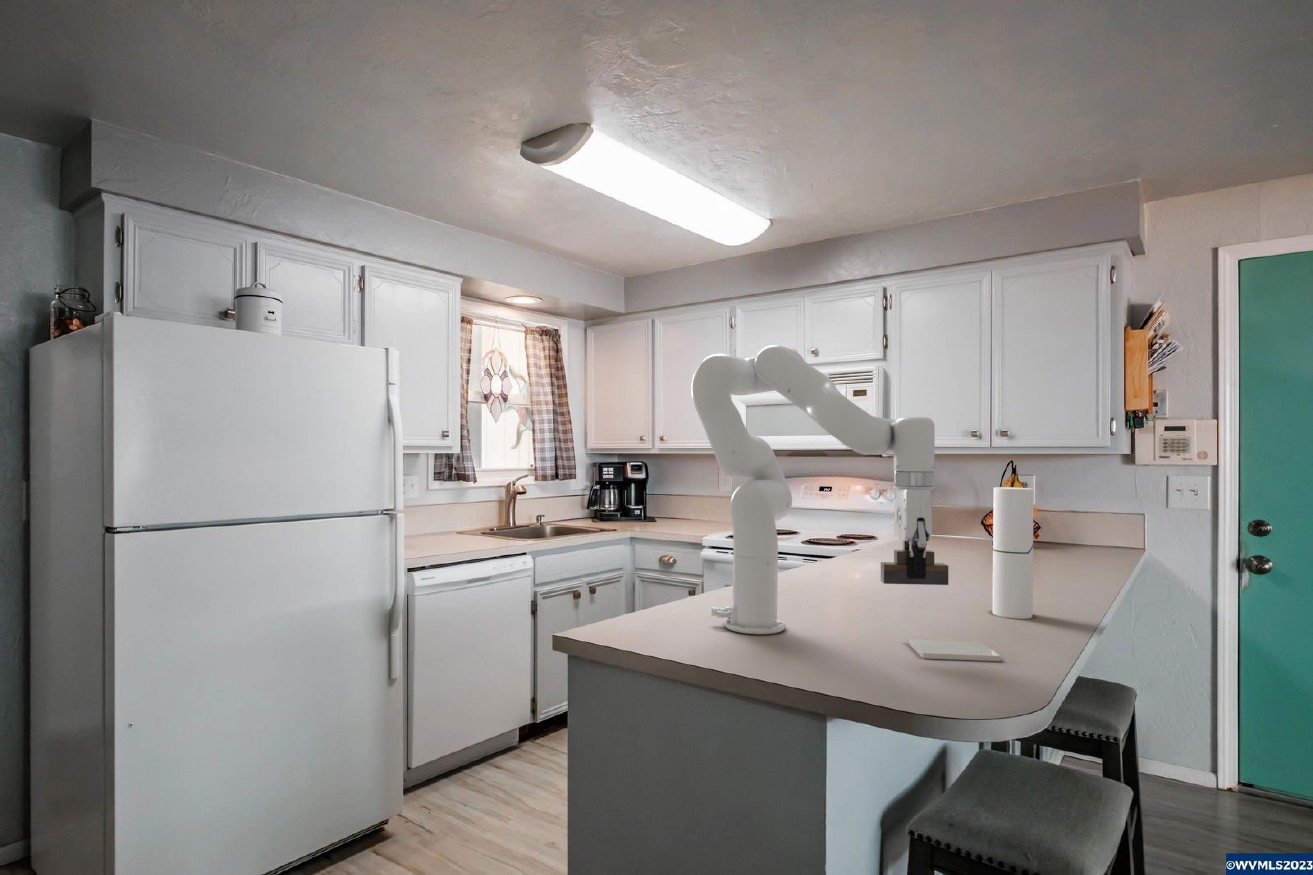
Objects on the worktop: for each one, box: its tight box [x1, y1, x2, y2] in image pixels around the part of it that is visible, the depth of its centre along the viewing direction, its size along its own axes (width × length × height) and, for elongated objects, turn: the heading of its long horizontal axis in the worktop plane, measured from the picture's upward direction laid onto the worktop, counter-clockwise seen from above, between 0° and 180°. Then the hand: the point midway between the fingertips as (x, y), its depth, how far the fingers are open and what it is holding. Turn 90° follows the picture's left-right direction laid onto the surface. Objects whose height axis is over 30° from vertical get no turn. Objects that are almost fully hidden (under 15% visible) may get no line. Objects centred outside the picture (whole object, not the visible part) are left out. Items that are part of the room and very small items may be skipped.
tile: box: [908, 638, 1002, 662], centre depth 142 cm, size 14×10×1 cm
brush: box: [880, 549, 949, 586], centre depth 143 cm, size 12×3×6 cm, turn 85°
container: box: [991, 486, 1035, 620], centre depth 176 cm, size 9×9×30 cm
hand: (914, 575), depth 142 cm, fingers closed on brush, 3 cm apart
